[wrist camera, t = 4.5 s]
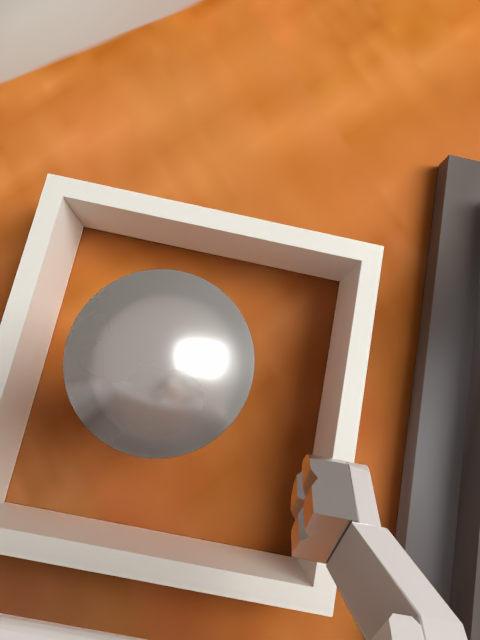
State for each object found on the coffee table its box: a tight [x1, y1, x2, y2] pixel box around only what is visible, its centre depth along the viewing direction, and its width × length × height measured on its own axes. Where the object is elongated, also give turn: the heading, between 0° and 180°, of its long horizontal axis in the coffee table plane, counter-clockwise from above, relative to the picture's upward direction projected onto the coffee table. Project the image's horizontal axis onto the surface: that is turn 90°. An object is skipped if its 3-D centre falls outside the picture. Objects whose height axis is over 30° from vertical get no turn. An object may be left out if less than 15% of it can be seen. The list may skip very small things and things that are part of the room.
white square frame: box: [0, 173, 384, 617], centre depth 18 cm, size 14×14×3 cm
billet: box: [63, 269, 255, 458], centre depth 14 cm, size 4×4×10 cm
